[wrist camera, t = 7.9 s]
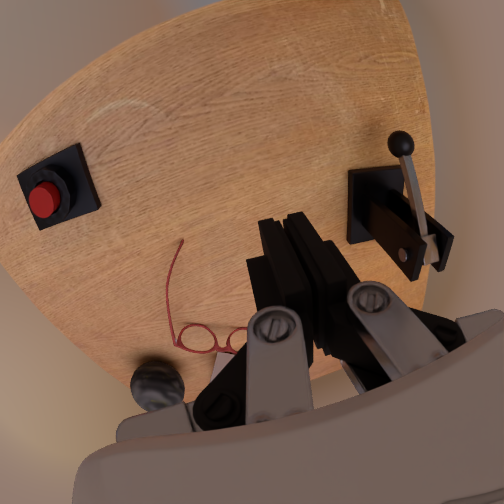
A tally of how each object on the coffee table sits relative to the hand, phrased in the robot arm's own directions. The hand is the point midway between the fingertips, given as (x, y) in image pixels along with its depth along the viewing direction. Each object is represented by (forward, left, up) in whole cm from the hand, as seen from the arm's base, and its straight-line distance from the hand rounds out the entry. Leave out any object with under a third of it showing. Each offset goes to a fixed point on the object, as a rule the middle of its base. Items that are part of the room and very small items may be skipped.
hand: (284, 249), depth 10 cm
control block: (-1, -22, -20) cm, 29 cm away
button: (-1, -22, -17) cm, 28 cm away
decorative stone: (+35, -22, -20) cm, 45 cm away
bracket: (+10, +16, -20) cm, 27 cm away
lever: (+6, +16, -13) cm, 22 cm away
